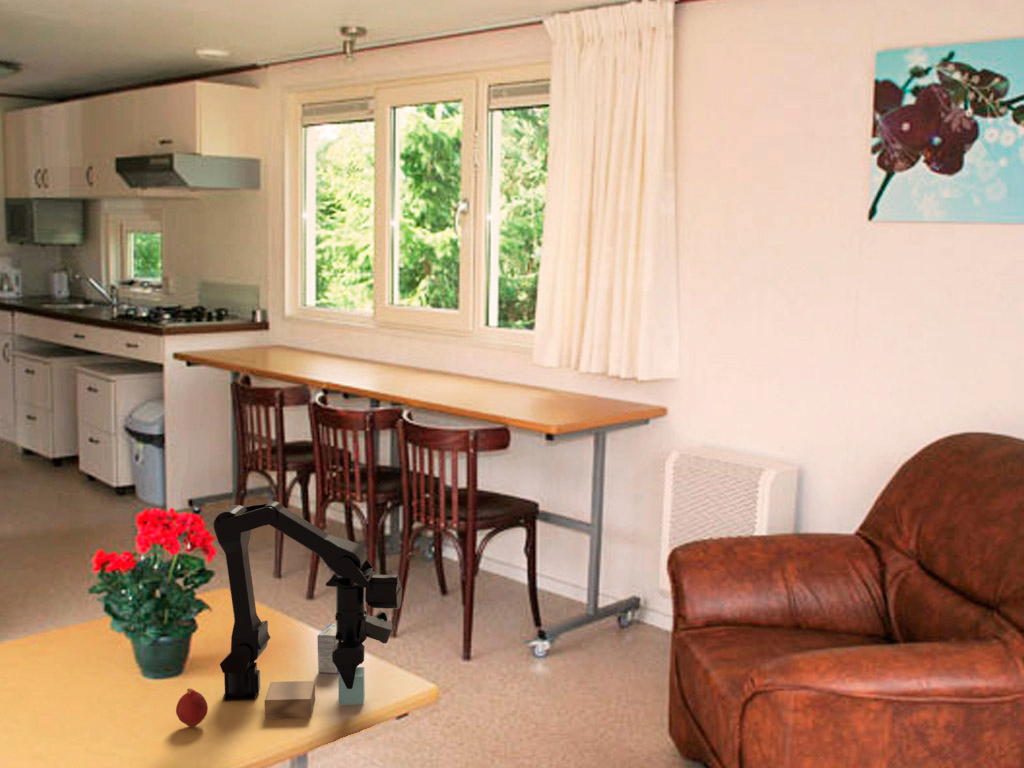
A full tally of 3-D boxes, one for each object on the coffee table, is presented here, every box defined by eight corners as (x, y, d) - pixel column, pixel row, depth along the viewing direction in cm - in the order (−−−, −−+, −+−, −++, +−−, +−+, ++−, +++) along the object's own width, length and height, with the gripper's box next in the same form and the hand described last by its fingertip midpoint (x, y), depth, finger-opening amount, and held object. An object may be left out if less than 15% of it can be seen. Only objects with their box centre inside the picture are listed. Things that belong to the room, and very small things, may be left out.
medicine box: (337, 674, 244) (336, 636, 242) (317, 672, 244) (317, 634, 243) (349, 661, 251) (348, 624, 250) (330, 659, 252) (330, 622, 251)
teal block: (338, 705, 228) (338, 676, 227) (340, 695, 233) (340, 667, 232) (363, 704, 228) (363, 676, 227) (364, 694, 233) (364, 667, 232)
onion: (196, 718, 221) (195, 679, 220) (214, 726, 218) (213, 686, 216) (171, 727, 217) (169, 688, 216) (188, 736, 213) (187, 696, 212)
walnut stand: (264, 719, 221) (264, 700, 220) (270, 700, 230) (270, 681, 229) (311, 718, 221) (310, 698, 221) (315, 699, 230) (314, 680, 230)
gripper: (388, 621, 219) (389, 697, 221) (391, 591, 238) (391, 661, 240) (331, 622, 218) (332, 698, 220) (338, 592, 237) (339, 662, 239)
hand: (351, 679), depth 230 cm, fingers open, 9 cm apart
